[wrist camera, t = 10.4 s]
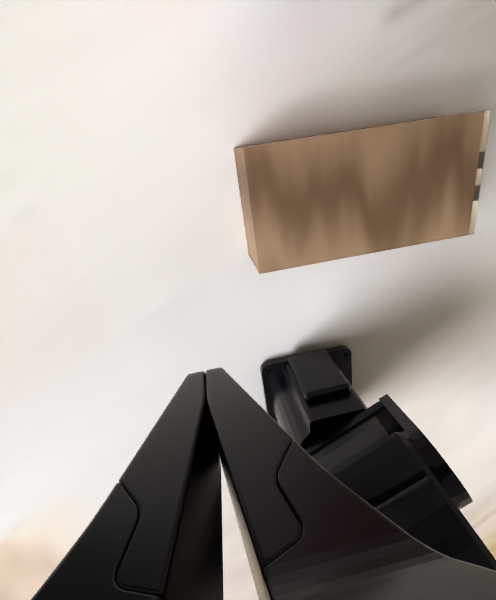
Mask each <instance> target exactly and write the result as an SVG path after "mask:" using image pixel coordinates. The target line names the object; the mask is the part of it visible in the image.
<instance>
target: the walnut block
mask: <svg viewBox="0 0 496 600" xmlns="http://www.w3.org/2000/svg"><path fill="white" fill-rule="evenodd" d="M490 111H491V110H489V111H482V112H474V113H466V114H458V115H450V116H442V117H435V118H429V119H422V120H415V121H409V122H402V123H396V124H389V125H382V126H376V127H369V128H363V129H356V130H350V131H343V132H336V133H330V134H323V135H317V136H310V137H303V138H297V139H290V140H284V141H277V142H271V143H264V144H257V145H251V146H244V147H238V148H234V154H235V161H236V168H237V175H238V182H239V189H240V197H241V204H242V211H243V218H244V225H245V232H246V239H247V246H248V253H249V256H250V258H251V260H252V261H253V263H254V265H255V267H256V268H257V270H258V272H259V274H261V273H267V272H272V271H277V270H283V269H288V268H293V267H299V266H304V265H310V264H315V263H320V262H326V261H331V260H336V259H342V258H347V257H352V256H358V255H363V254H369V253H374V252H379V251H385V250H390V249H395V248H401V247H406V246H412V245H417V244H422V243H428V242H433V241H438V240H444V239H449V238H454V237H460V236H465V235H471V234H474V227H475V220H476V213H477V206H478V198H479V191H480V184H481V177H482V169H483V162H484V155H485V148H486V140H487V133H488V126H489V119H490Z"/></svg>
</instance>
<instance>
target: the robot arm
mask: <svg viewBox="0 0 496 600" xmlns="http://www.w3.org/2000/svg"><path fill="white" fill-rule="evenodd" d="M343 352H345V353H344V354H343V355H341V354H342V353H343ZM267 368H271V369H270V370H269V371H265V370H266V369H267ZM260 370H261V377H262V383H263V390H264V397H265V403H266V410H267V412H266V411H265V410H264V409H263V408H262V407H261V406H260V405H259V404H258V403H257V402H256V401H255V400H254V399H253V398H252V397H251V396H250V395H249V394H248V393H247V392H246V391H245V390H244V389H243V388H242V387H241V386H240V385H239V384H238V383H237V382H236V381H235V380H234V379H233V378H232V377H231V376H230V375H229V374H228V373H227V372H226V371H225V370H224V369H223V368H215V369H211V370H207V371H206V373H205V372H203V371H202V372H197V373H192V374H189V375H187V377H186V378H185V380H184V381H183V383H182V384H181V386H180V387H179V389H178V391H177V392H176V394H175V395H174V397H173V398H172V400H171V401H170V403H169V404H168V406H167V407H166V409H165V410H164V412H163V414H162V415H161V417H160V418H159V420H158V421H157V423H156V424H155V426H154V427H153V429H152V430H151V432H150V433H149V435H148V437H147V438H146V440H145V441H144V443H143V444H142V446H141V447H140V449H139V450H138V452H137V453H136V455H135V456H134V458H133V460H132V461H131V463H130V464H129V466H128V467H127V469H126V470H125V472H124V473H123V475H122V476H121V478H120V479H119V483H117V484H116V485H115V487H114V488H113V490H112V491H111V493H110V494H109V496H108V498H107V499H106V501H105V502H104V503H103V505H102V506H101V508H100V509H99V511H98V512H97V514H96V515H95V517H94V518H93V519H92V521H91V522H90V524H89V525H88V527H87V528H86V529H85V531H84V532H83V533H82V535H81V536H80V537H79V539H78V540H77V541H76V543H75V544H74V545H73V546H72V548H71V549H70V550H69V552H68V553H67V554H66V556H65V557H64V558H63V560H62V561H61V562H60V563H59V565H58V566H57V567H56V569H55V570H54V571H53V572H52V574H51V575H50V576H49V577H48V579H47V580H46V581H45V583H44V584H43V585H42V586H41V588H40V589H39V590H38V592H37V593H36V594H35V595H34V597H33V598H32V599H31V600H223V554H222V499H221V463H222V467H223V471H224V475H225V478H226V482H227V486H228V489H229V493H230V496H231V500H232V504H233V507H234V511H235V514H236V518H237V522H238V525H239V529H240V532H241V536H242V539H243V543H244V547H245V550H246V554H247V557H248V561H249V565H250V568H251V572H252V575H253V579H254V582H255V586H256V590H257V593H258V597H259V600H496V560H495V558H494V557H493V555H492V554H491V553H490V551H489V550H488V549H487V547H486V546H485V544H484V543H483V542H482V540H481V539H480V538H479V536H478V535H477V533H476V532H475V531H474V529H473V528H472V527H471V525H470V524H469V523H468V521H467V520H466V518H465V517H464V516H463V514H462V513H461V512H460V510H459V509H461V508H463V507H465V506H466V505H468V504H470V503H472V502H473V501H472V499H471V497H470V495H469V494H468V492H467V491H466V489H465V488H464V486H463V485H462V483H461V482H460V481H459V479H458V478H457V476H456V475H455V474H454V472H453V471H452V470H451V468H450V467H449V466H448V464H447V463H446V462H445V460H444V459H443V458H442V457H441V455H440V454H439V453H438V451H437V450H436V449H435V448H434V446H433V445H432V444H431V443H430V441H429V440H428V439H427V438H426V437H425V435H424V434H423V433H422V432H421V431H420V430H419V429H418V428H417V426H416V425H415V424H414V423H413V422H412V421H411V420H410V419H409V418H408V417H407V416H406V414H405V413H404V412H403V411H402V410H401V409H400V408H399V407H398V406H397V405H396V404H395V402H394V401H393V400H392V399H391V398H390V397H389V396H388V395H387V394H386V395H384V396H383V397H381V398H380V399H379V400H380V401H378V402H377V403H375V404H374V405H372V406H371V407H369V408H367V407H366V405H365V404H364V403H363V401H362V400H361V398H360V397H359V395H358V394H357V393H356V391H355V390H354V388H353V387H352V366H351V351H350V349H349V348H348V347H347V346H338V347H334V348H329V349H322V350H317V351H312V352H308V353H303V354H298V355H294V356H290V357H287V358H283V359H278V360H273V361H269V362H265V363H263V364H262V365H261V368H260ZM220 459H221V462H220Z"/></svg>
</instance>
